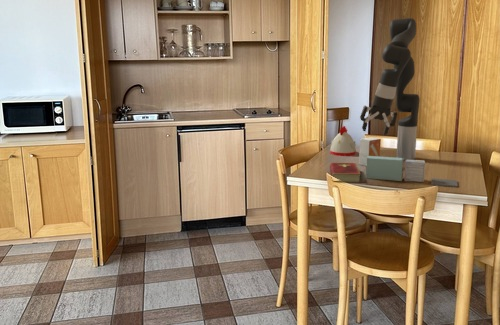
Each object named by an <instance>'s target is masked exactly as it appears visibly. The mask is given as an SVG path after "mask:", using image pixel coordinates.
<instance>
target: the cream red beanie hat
mask: <svg viewBox="0 0 500 325" xmlns="http://www.w3.org/2000/svg"><path fill="white" fill-rule="evenodd" d="M356 145H357V144H356V141H354V139H353V137H352V135H350V134H349V133H348V128H347V127H346V126H345V125H343V126H341V127H340V129H339V133H337V135H336V136H335V137H334V139H331V142H330V148H329V149H330V150H329V153H330V155H332V156H340V157H350V156H355V155H356V153H357V149H356Z"/></svg>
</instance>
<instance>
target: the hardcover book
mask: <svg viewBox="0 0 500 325" xmlns="http://www.w3.org/2000/svg"><path fill="white" fill-rule="evenodd" d="M329 170H330V176H331V175H332V176H333V177H335V178H337V179H340V180H342V181H341V182H354V183H356V182H357V183H358V182H359V183H360V176H361V171H360V170H359V167H358V165H357V163H356V162H330V163H329Z"/></svg>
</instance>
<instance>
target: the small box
mask: <svg viewBox="0 0 500 325" xmlns="http://www.w3.org/2000/svg"><path fill="white" fill-rule="evenodd" d="M381 140H382V139H381V138H379V137H373V136H370V137H364V138H360V139H359V155H358V165H361V166H364V167H367V157H368V156H379V157H381Z"/></svg>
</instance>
